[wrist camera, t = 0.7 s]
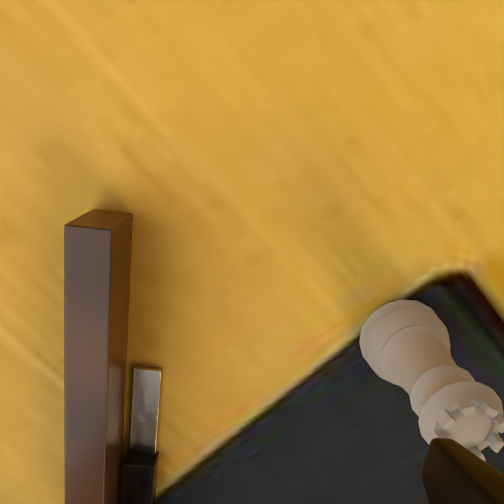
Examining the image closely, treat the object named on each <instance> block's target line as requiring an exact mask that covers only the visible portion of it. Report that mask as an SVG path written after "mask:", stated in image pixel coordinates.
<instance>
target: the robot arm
mask: <svg viewBox="0 0 504 504" xmlns="http://www.w3.org/2000/svg"><path fill="white" fill-rule="evenodd" d="M423 483H424V486H425V490H426V493H427V496H428V499H429V503H430V504H504V475H503V474H502V473H501V472H499V471H498V470H496V469H495V468H493V467H492V466H491V465H489V464H488V463H486V462H485V461H483V460H482V459H481V458H479V457H478V456H476V455H475V454H474V453H472V452H471V451H469V450H468V449H466V448H465V447H464V446H462V445H461V444H459V443H458V442H456V441H455V440H453V439H446V438H434V439H432V440H431V441H430V444H429V447H428V451H427V455H426V459H425V463H424V467H423Z"/></svg>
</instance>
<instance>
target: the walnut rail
mask: <svg viewBox="0 0 504 504" xmlns="http://www.w3.org/2000/svg"><path fill="white" fill-rule="evenodd" d="M132 221H133V215H132V214H129V213H121V212H112V211H103V210H94V209H93V210H91V211H89V212H87V213H85V214H83V215H82V216H80V217H78V218H76V219H74V220H72V221H71V222H69V223H67V224H65V226H64V441H65V504H120V492H121V470H122V447H123V424H124V402H125V379H126V357H127V334H128V312H129V289H130V266H131V244H132Z"/></svg>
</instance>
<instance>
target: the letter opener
mask: <svg viewBox="0 0 504 504" xmlns="http://www.w3.org/2000/svg"><path fill="white" fill-rule="evenodd" d="M161 377H162V369H158V368H147V367H137V366H135V367H134V370H133V390H132V410H131V430H130V449H128V451H127V454H126V456H125V459H124V462H123V468H122V490H121V504H155V496H156V482H157V469H158V455H159V453H158V452H156V447H157V433H158V419H159V405H160V391H161Z"/></svg>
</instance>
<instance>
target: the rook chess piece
mask: <svg viewBox="0 0 504 504" xmlns="http://www.w3.org/2000/svg"><path fill="white" fill-rule="evenodd" d="M359 344H360V348H361V351H362V355H363V357H364V358H365V360H366V361H367V362H368V364H369V366H370V367H371V368H372V369H373V370H374V371H375V373H376V374H377V375H378V376H379V377H381V378H382V379H384V380H386V381H388V382H391V383H393V384H395V385H398V386H400V387H403V389H404V390H405V391H406V392H407V393H408V394H409V395H410V402H411V406H412V409H413V411H414V412H415V413H416V414H417V415H418V416H419V422H418V423H419V427H420V431H421V435H422V437H423V438H424V439H425V440H426V442H427V443H428V444H430V441H431V440H432V439H434V438H446V439H453V440H455V441H456V442H458V443H459V444H461V445H462V446H464V447H465V448H466V449H468V450H469V451H471V452H472V453H474V454H475V455H476V456H478V457H479V458H481V459H482V460H483V461H486V460H485V458H484V456H483V454H482V453H481V450H482V449H484V448H486V447H487V446H490V447H491V449H492V450H494V451H495V452H496V453H498V452H499V450H500V449H501V448H502V447H503V445H504V441H503V440H502V439H501V438H500V436H499V435H498V433H499V431H500V433H504V417H503V408H502V402H501V399H500V398H499V397H498V395H497V394H496V393H495V392H494V390H493V389H491V388H489V387H487V386H485V385H483V384H481V383H479V382H475V380H474V378H473V377H472V376H471V375H470V373H469V372H468V371H466V370H464V369H462V368H460V367H458V366H456V364H455V362H454V361H453V359H452V357H451V356H450V355H451V352H450V346H451V345H450V340H449V335H448V331H447V328H446V327H445V325H444V324H443V323H442V321H441V320H440V319H439V318H438V316H437V315H436V314H435V313H434V311H433V310H432V309H431V308H430V307H428V306H426V305H424V304H422V303H420V302H418V301H413V300H397V301H394V302H390V303H387V304H384V305H383V306H381V307H380V308H378V309H377V310H376V311H374V312H373V313H372V314H370V316H369V317H368V319H367V321H366V322H365V324H364V325H363V327H362V329H361V335H360V341H359Z"/></svg>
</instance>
